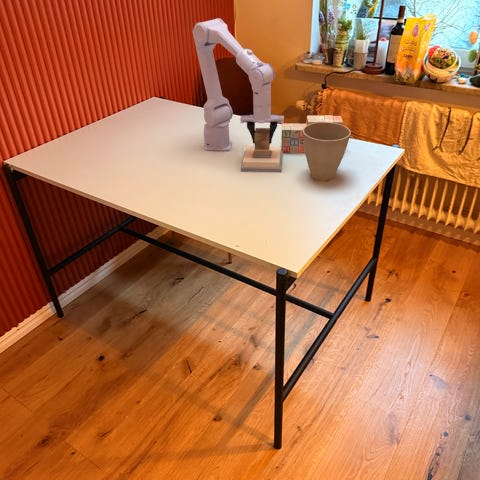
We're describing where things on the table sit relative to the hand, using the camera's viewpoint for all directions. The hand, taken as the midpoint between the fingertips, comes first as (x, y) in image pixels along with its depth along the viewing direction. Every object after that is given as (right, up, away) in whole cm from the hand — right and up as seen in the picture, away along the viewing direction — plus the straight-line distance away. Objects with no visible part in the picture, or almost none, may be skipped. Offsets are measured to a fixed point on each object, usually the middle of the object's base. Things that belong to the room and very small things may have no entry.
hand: (262, 142), depth 156 cm
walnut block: (0, -1, +1) cm, 2 cm away
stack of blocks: (+18, -1, +12) cm, 22 cm away
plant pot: (+20, -12, -5) cm, 24 cm away
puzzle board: (0, -6, +5) cm, 8 cm away
